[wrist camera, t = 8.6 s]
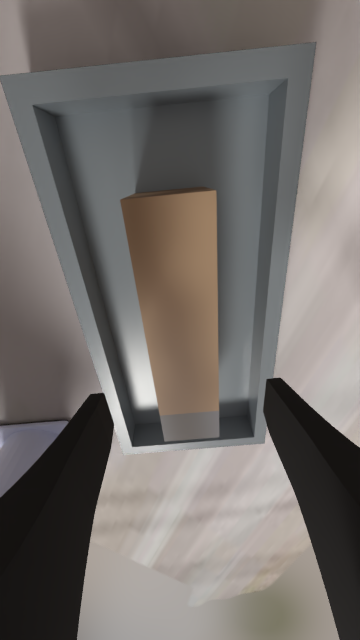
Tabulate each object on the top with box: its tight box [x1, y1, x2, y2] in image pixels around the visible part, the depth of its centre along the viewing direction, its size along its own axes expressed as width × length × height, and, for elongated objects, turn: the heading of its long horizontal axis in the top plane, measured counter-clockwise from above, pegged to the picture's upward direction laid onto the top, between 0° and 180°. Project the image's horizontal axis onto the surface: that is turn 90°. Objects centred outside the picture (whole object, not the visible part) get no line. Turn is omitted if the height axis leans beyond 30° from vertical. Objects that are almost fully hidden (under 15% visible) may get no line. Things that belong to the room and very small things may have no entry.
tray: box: [0, 42, 316, 455], centre depth 18 cm, size 26×13×3 cm, turn 5°
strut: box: [120, 187, 219, 442], centre depth 16 cm, size 4×16×5 cm, turn 5°
